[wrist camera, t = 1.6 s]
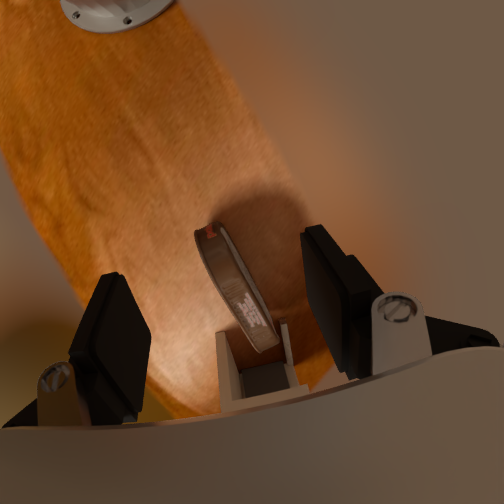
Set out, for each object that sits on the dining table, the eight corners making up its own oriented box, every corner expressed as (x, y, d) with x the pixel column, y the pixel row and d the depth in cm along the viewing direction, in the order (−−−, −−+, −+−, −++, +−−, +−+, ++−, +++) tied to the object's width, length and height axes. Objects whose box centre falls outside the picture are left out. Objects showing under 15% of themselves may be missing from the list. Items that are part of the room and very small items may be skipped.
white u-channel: (215, 333, 40) (221, 414, 29) (284, 317, 40) (310, 395, 29) (232, 380, 45) (242, 453, 34) (292, 367, 45) (314, 437, 34)
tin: (192, 218, 32) (188, 258, 25) (220, 205, 32) (224, 241, 25) (251, 319, 40) (261, 369, 32) (274, 309, 39) (289, 359, 32)
